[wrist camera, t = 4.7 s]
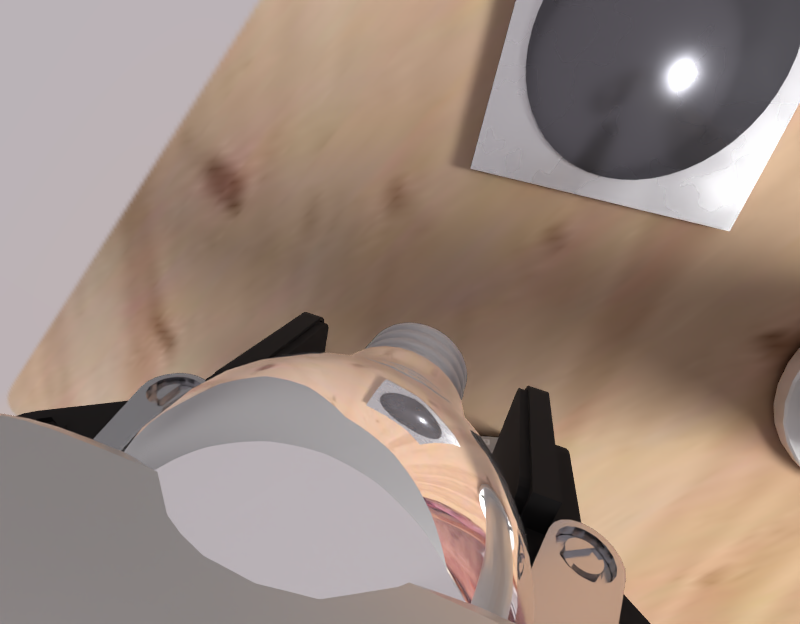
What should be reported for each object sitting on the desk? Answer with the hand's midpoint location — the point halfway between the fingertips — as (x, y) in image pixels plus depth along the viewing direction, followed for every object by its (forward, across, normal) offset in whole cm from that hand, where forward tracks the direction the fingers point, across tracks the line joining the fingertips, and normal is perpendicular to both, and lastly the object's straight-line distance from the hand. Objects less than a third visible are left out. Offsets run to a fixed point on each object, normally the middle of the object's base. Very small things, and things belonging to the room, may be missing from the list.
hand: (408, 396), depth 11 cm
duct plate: (+13, -5, -12) cm, 18 cm away
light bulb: (+3, 0, 0) cm, 3 cm away
